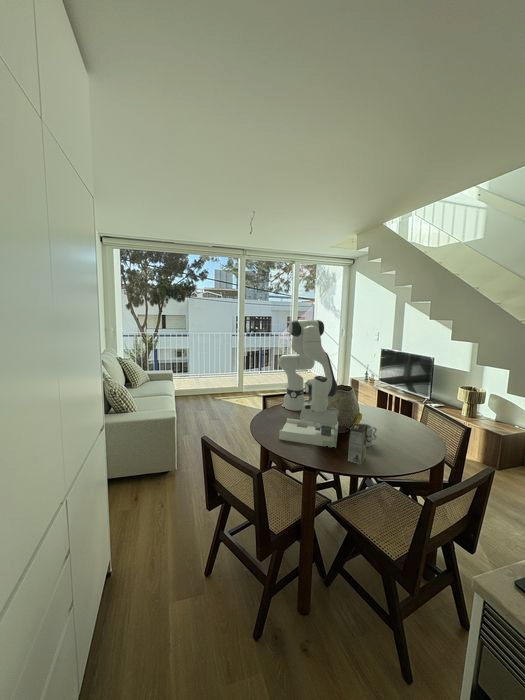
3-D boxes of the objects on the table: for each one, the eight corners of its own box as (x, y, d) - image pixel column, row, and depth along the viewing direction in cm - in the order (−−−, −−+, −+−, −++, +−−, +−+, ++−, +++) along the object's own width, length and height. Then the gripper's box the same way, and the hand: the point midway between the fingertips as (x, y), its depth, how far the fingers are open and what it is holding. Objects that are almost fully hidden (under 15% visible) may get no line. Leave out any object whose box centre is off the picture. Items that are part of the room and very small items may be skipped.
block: (321, 431, 170) (322, 424, 170) (330, 432, 169) (331, 425, 168) (320, 434, 165) (321, 427, 165) (330, 436, 164) (330, 429, 163)
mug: (360, 448, 157) (361, 430, 156) (350, 441, 166) (352, 423, 164) (380, 446, 160) (382, 428, 159) (370, 439, 169) (371, 422, 168)
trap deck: (286, 426, 184) (287, 415, 183) (337, 433, 176) (338, 421, 175) (279, 439, 165) (279, 426, 164) (335, 448, 157) (336, 435, 156)
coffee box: (351, 453, 151) (354, 422, 149) (365, 457, 148) (367, 425, 146) (347, 461, 143) (349, 428, 141) (361, 465, 140) (364, 431, 138)
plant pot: (358, 426, 189) (360, 410, 187) (362, 432, 178) (363, 416, 177) (341, 424, 190) (342, 409, 188) (344, 431, 179) (345, 415, 178)
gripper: (339, 406, 166) (337, 430, 168) (302, 402, 172) (300, 425, 174) (338, 410, 160) (336, 435, 162) (300, 405, 166) (298, 429, 168)
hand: (317, 430), depth 168 cm, fingers closed
